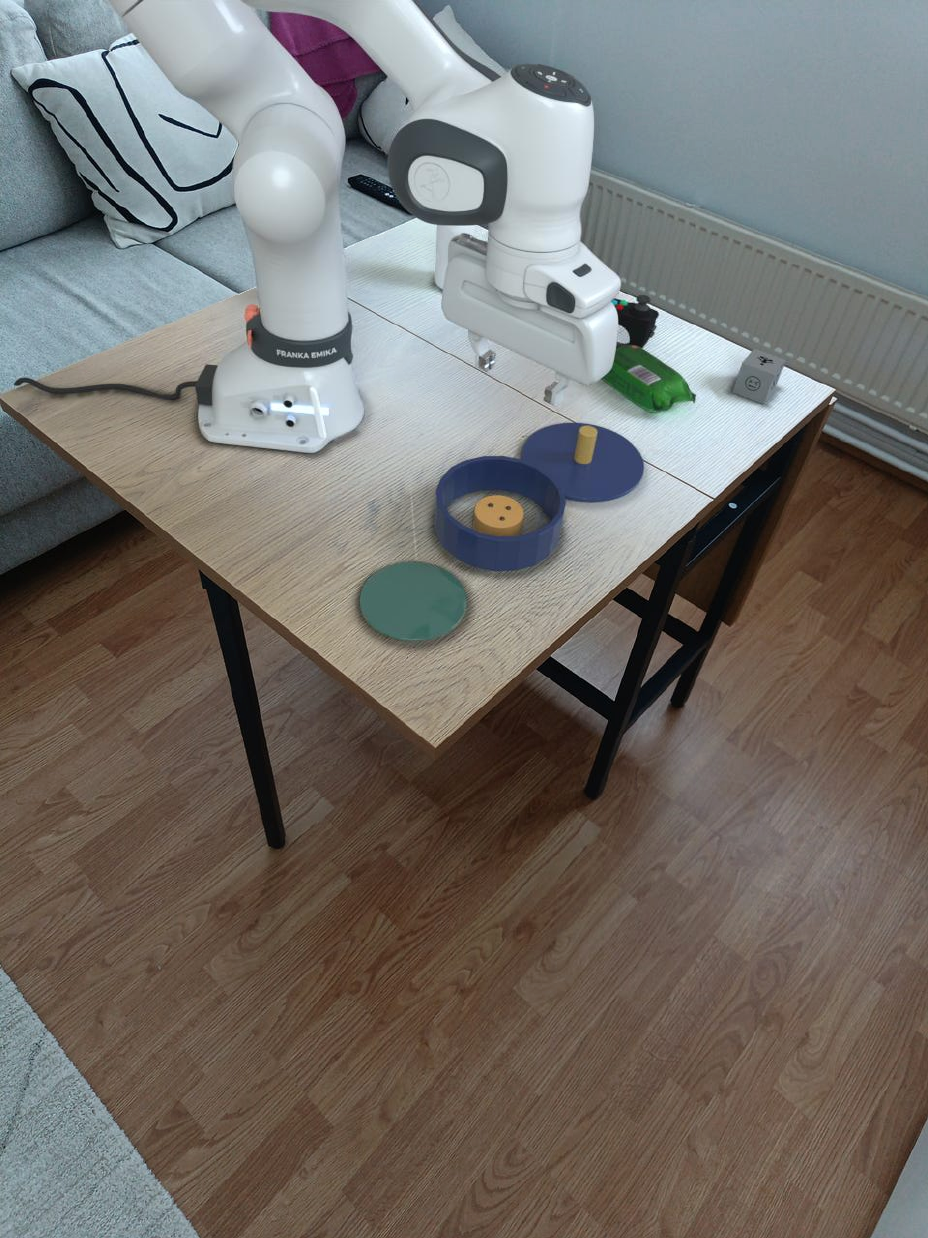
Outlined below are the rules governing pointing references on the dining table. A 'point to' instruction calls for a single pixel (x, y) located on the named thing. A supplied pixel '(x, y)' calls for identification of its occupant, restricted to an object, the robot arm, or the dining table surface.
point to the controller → (636, 320)
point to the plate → (413, 601)
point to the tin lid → (586, 460)
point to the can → (442, 243)
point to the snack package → (647, 380)
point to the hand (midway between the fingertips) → (518, 384)
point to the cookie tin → (505, 477)
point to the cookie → (498, 516)
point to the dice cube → (758, 376)
